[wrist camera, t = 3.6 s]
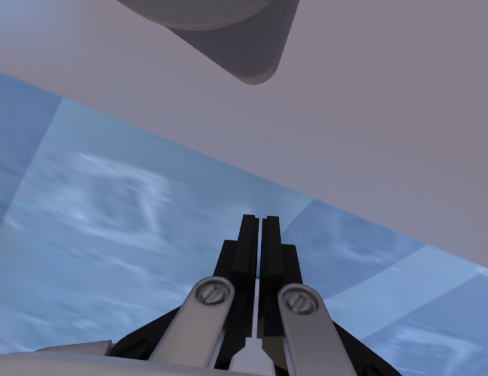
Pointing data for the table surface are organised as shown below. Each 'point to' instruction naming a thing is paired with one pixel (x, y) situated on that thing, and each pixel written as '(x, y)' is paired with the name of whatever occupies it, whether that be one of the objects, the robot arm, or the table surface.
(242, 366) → the jar
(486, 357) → the table surface
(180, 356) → the robot arm
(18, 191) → the table surface
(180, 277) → the table surface
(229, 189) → the table surface
